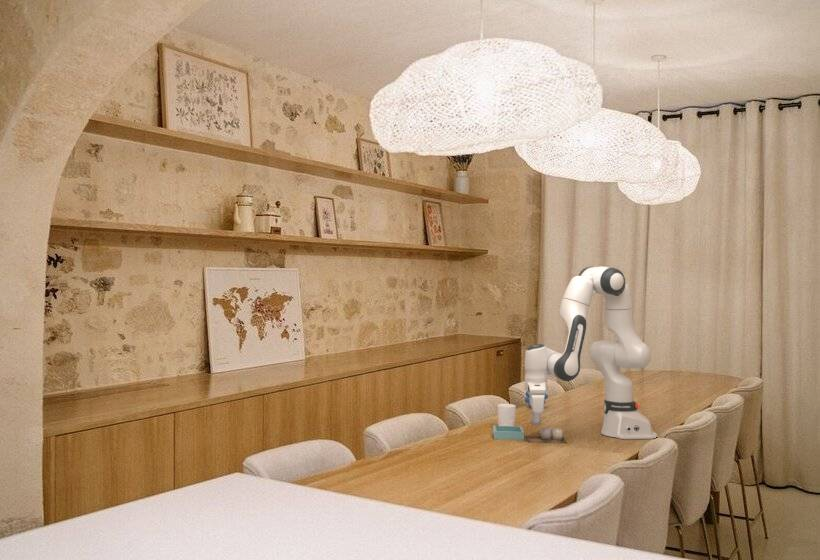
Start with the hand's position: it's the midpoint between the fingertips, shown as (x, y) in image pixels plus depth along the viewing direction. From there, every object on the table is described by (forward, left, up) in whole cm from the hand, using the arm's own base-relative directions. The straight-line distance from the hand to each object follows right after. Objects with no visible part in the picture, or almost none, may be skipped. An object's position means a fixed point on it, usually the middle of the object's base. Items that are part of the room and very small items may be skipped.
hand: (536, 420), depth 294 cm
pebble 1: (0, 0, -2) cm, 2 cm away
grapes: (-9, -74, -8) cm, 75 cm away
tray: (-4, +1, -8) cm, 9 cm away
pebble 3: (-8, +1, -8) cm, 11 cm away
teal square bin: (+11, -4, -8) cm, 14 cm away
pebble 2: (-4, +1, -8) cm, 9 cm away
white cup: (+10, -22, -8) cm, 26 cm away
